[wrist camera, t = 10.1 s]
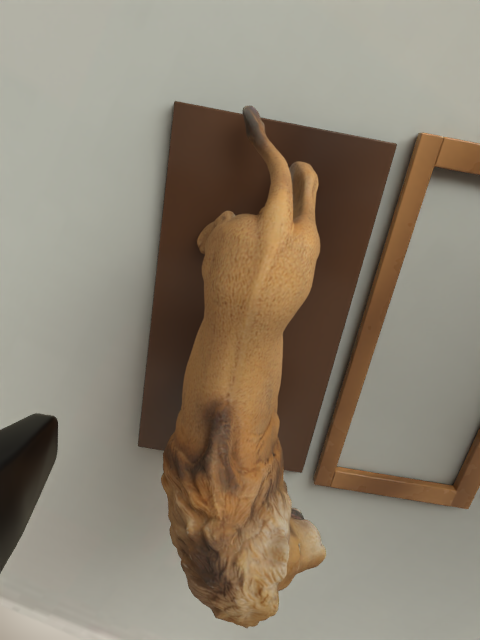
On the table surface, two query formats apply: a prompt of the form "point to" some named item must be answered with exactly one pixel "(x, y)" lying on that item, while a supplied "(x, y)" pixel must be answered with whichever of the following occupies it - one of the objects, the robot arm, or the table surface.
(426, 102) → the table surface
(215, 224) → the lion figurine
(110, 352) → the table surface
